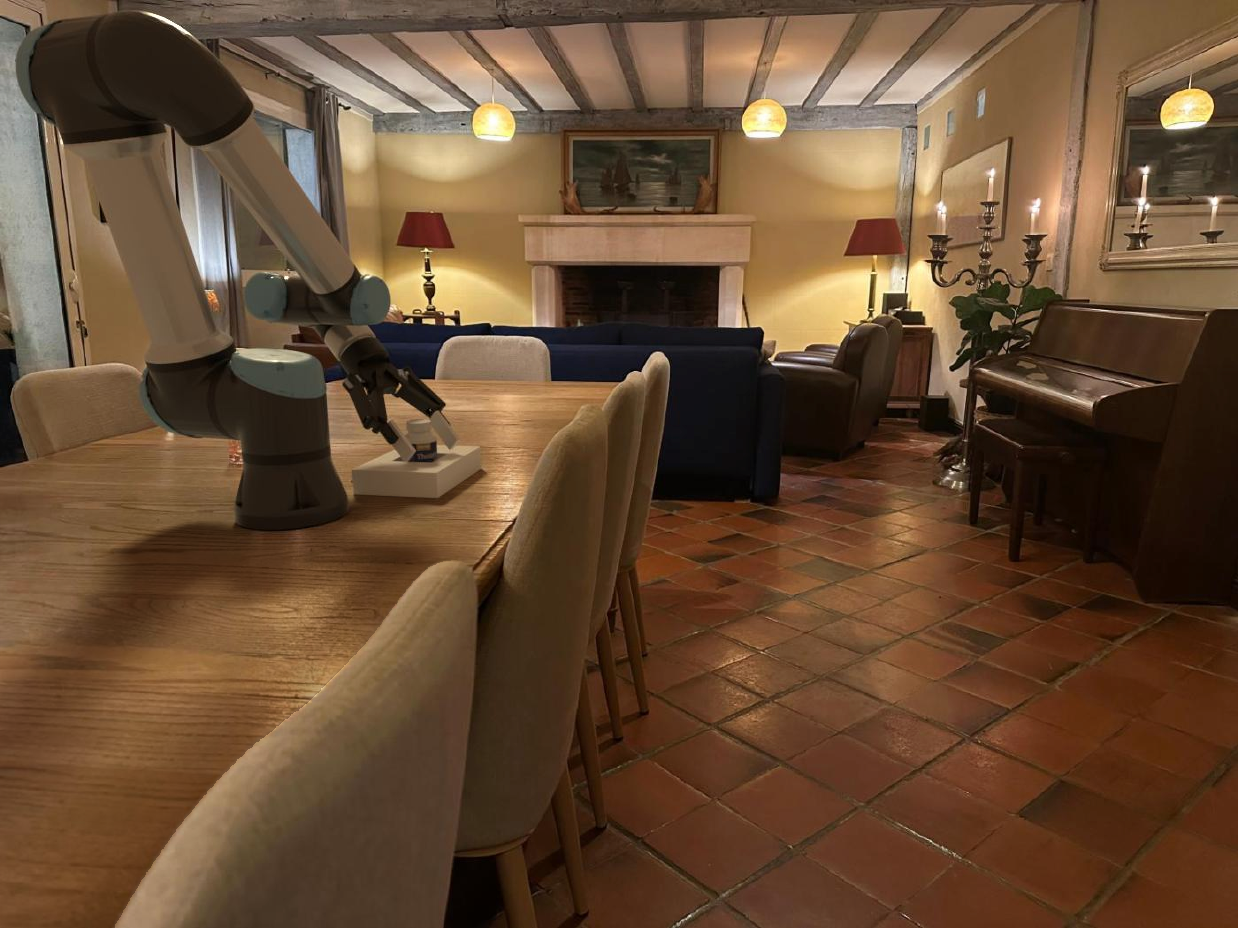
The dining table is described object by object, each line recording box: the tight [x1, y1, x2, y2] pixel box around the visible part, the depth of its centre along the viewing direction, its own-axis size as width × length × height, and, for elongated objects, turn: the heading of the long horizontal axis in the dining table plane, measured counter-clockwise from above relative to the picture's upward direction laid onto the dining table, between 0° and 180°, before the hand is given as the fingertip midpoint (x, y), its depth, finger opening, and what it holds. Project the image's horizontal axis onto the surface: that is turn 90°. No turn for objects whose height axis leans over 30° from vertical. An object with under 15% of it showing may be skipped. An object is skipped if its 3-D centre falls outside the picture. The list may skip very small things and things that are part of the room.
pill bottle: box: [404, 418, 438, 463], centre depth 135 cm, size 5×5×10 cm
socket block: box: [351, 444, 483, 499], centre depth 136 cm, size 14×20×4 cm
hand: (433, 450), depth 133 cm, fingers open, 10 cm apart
